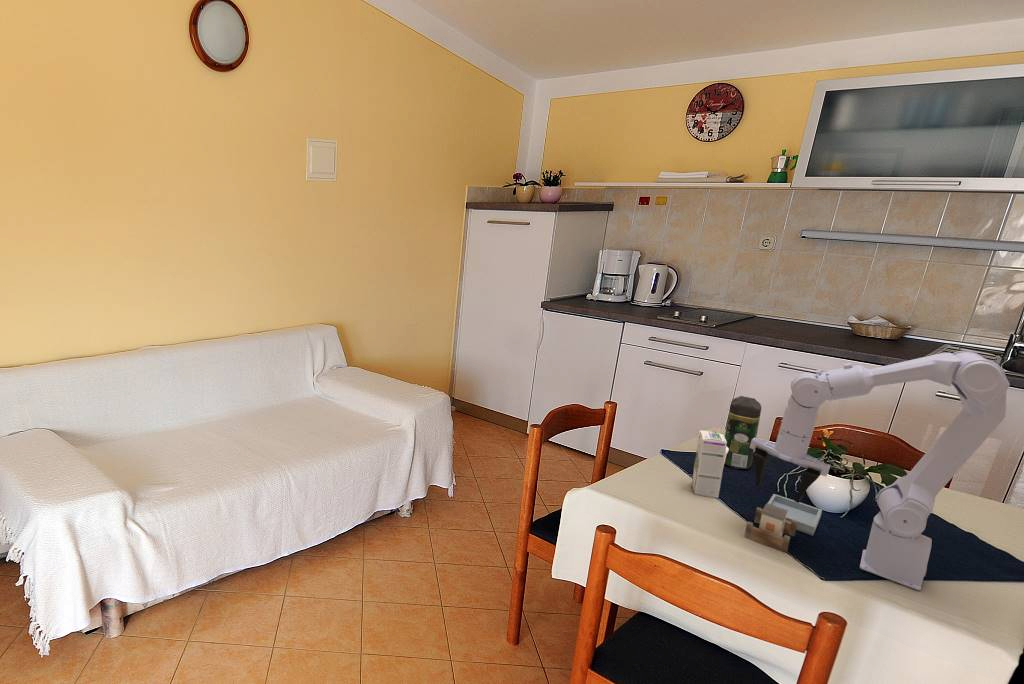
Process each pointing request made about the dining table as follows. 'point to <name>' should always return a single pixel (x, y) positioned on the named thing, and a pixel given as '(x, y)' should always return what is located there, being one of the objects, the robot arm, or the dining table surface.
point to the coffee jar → (741, 431)
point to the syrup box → (709, 463)
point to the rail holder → (768, 537)
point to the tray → (798, 513)
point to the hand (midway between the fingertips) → (777, 492)
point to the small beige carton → (773, 519)
